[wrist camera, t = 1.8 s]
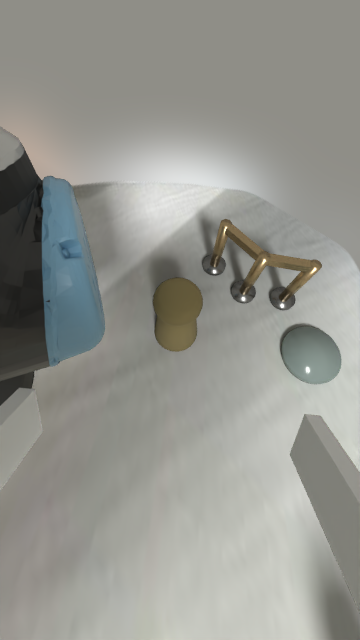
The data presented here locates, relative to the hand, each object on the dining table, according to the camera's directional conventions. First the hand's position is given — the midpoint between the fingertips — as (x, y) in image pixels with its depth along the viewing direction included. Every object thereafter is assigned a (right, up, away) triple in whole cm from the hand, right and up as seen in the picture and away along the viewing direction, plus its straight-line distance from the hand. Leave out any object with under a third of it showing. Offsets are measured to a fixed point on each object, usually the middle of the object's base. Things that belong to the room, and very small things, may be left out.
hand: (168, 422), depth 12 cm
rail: (+11, +11, +25) cm, 29 cm away
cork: (0, +3, +22) cm, 22 cm away
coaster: (+19, 0, +21) cm, 28 cm away
